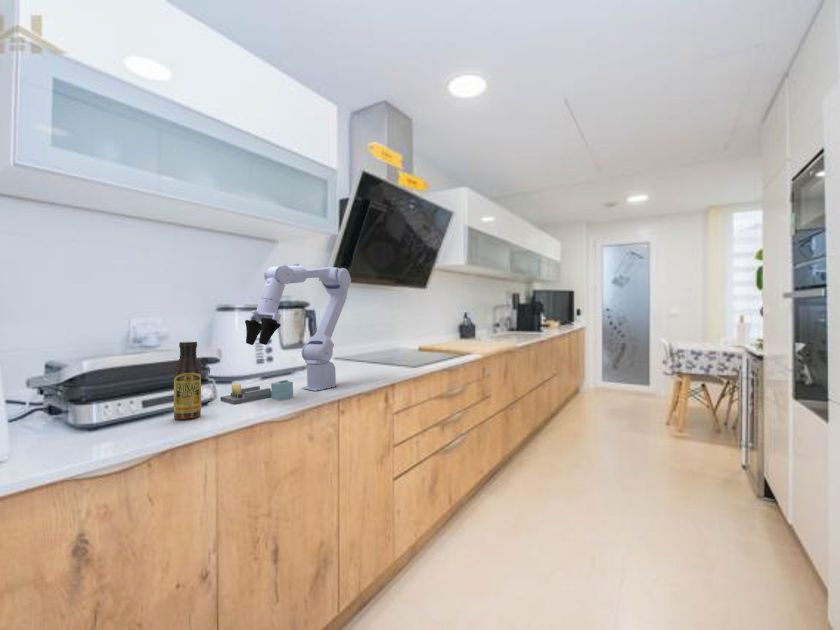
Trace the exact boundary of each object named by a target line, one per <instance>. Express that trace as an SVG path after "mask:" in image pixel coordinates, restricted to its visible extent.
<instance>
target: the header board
mask: <svg viewBox="0 0 840 630" xmlns="http://www.w3.org/2000/svg"><path fill="white" fill-rule="evenodd" d="M219 398H220V400H221V402H223V401H224V403H227V404H231V405H233V406H234V405H239V404H243V403H249V402H254V401H259V400H265V399H268V398H269V399H270V398H272V391H271V387H267V388H261V387H260V385H255V386H254V385H253V386H250V387H244V388H242V384H241V383H236V382H233V383H231V392H230V395H224V396H220V397H219Z"/></svg>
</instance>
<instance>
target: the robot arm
mask: <svg viewBox="0 0 840 630" xmlns="http://www.w3.org/2000/svg"><path fill="white" fill-rule="evenodd" d="M263 277H264V287H263V289H262V292H261V295H260V298H259V301H258V303H257V304H258V305H257V307H256V310H252V311H251V313H252V315H250V316H249V318H248V319H245V320H244V324H245V327H246V337H245V338H246V339H245V344H248V345H250V346H254V344H255V343H256V340H257V338H258V336H259V339H258V343H259V344H261V345H264V346H266V345H268V343H269V342H270V339H271V337H272V336H273V335H274V334H275V333H276V331H277V330H278V329H280V328H281V327H282V326H281V325H282V324H280V323H278V322H280V320H281V317H282V315H281V314H279V313H277V312H278V309H279V306H280V304H281V299H282V296H283V292H284V290H285V287H286V285H289V284H299V283H304V282H306V281H307V279H312V278H313V279H314V278H315V279H316V278H318V281H320V282H321V283H322V286H323V287H324V288H325V291H326V293H327V294H328V295H330V299H329V301H328V303H327V305H326V307H325V311H324V313H323V315H322V318H321V320H320V322H319V325H318V327H317V329H316V331H315V332H316V333H314V335H312V336H311V337H309V338H308V340H307V342H306V344H304V345H303V347H302V349H301V357H302V358H303V360H304V361H305V363H306V385H307V386H303V387H301V389H303V390H309V391H313V392H317V391H322V390H326V388H327V389H332V388H335V386H337V387H338V385H337V379H336V378H337V377H336V376H337V375H336V366H335V364H334V363H333V362H332V361H331V359H332V357H333V349H334V346H335V344H334V342H333V341H332V337H333V333H334V331H335V329H336V326H337V323H338V321H339V319H340V316H341V313H342V311H343V310H344V309H343V308H344V306H345V303H346V301H347V297H348V291H349V288H350V284H351V282H352V278H351V275H350V272H349V271H348V269H346V268H344V267H340V268H339V267H331V266H329V267H327V266H326V267H314V268H306V267H305V266H304V265H300V263H292V265H287V264H281V265H277V266H270V267H269V268H268V269H267V270H266V271H264V272H263ZM259 334H260V335H259ZM331 387H332V388H331Z"/></svg>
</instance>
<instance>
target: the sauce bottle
mask: <svg viewBox="0 0 840 630" xmlns="http://www.w3.org/2000/svg"><path fill="white" fill-rule="evenodd" d="M197 347H198V342H197V341H194V340H193V341H189V340H186V341H185V340H184V341H179V345H178V348H179V359H178V361H177V363H176V364H175V366H174V377H173V418H174V419H175V420H178V419H180V420H184V419H186V420H191V418H192V419H197V418H199V416H201V413H202V412H201V411H202V404H201V366H202V365H201V363H200V362H199V360H198V358H197ZM196 417H197V418H196ZM184 421H185V420H184Z"/></svg>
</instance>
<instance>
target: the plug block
mask: <svg viewBox="0 0 840 630" xmlns="http://www.w3.org/2000/svg"><path fill="white" fill-rule="evenodd" d="M270 385H271V386H270V388H271V391H272V397H271V400H275V401H279V402H280V401H283V400H288V398H289V399H293V398H294V386H293V385H294V382H293V381H290V380H288V379H284V380H278V382H272V383H270ZM292 397H293V398H292Z"/></svg>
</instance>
